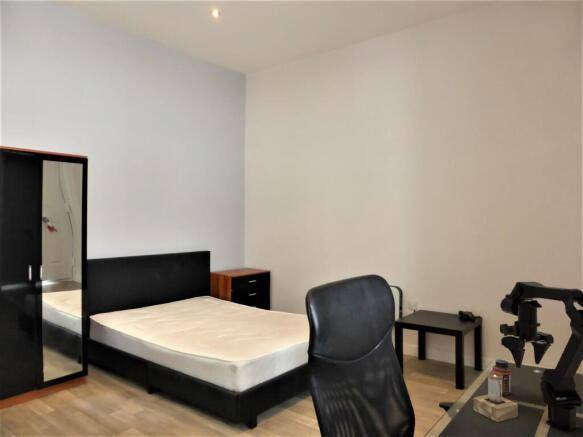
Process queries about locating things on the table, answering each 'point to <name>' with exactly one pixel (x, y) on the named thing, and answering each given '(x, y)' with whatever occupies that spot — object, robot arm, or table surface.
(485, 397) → the mount
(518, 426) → the table surface
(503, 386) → the supplement bottle
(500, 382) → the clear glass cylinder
